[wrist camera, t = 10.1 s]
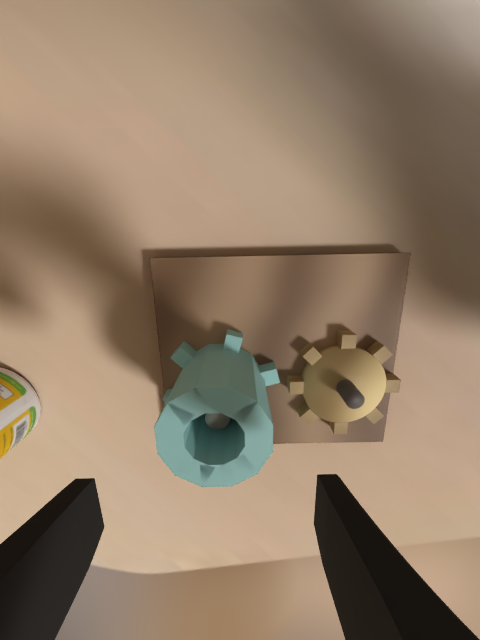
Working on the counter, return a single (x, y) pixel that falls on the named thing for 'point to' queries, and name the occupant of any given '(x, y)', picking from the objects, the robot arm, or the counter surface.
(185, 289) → the gear board
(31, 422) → the supplement bottle
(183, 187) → the counter surface
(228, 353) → the gear
